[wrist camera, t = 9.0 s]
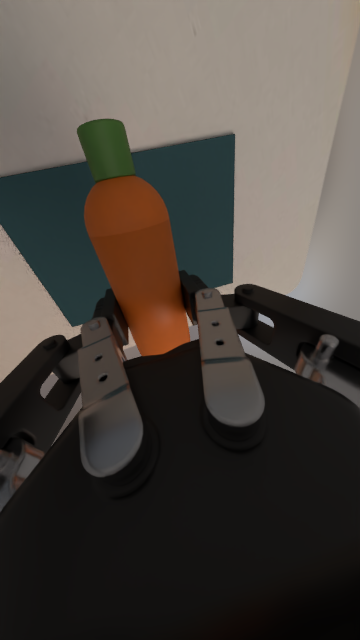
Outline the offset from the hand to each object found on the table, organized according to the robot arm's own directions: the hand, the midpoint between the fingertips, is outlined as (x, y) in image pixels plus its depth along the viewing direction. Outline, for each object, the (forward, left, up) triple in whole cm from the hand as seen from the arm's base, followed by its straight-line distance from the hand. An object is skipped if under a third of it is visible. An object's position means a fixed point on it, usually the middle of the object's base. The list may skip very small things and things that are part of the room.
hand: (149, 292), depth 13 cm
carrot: (0, 0, -1) cm, 1 cm away
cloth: (-1, 0, -11) cm, 11 cm away
